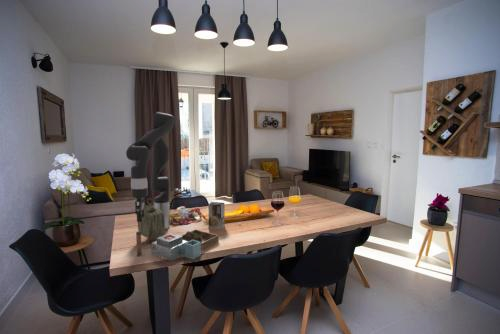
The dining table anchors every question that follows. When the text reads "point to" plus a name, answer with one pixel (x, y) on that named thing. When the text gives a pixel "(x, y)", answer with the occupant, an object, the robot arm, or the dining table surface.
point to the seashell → (193, 237)
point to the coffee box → (216, 215)
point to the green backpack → (152, 222)
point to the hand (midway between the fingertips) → (140, 219)
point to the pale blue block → (169, 246)
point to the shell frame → (210, 238)
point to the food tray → (185, 215)
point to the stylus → (138, 243)
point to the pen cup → (192, 249)
